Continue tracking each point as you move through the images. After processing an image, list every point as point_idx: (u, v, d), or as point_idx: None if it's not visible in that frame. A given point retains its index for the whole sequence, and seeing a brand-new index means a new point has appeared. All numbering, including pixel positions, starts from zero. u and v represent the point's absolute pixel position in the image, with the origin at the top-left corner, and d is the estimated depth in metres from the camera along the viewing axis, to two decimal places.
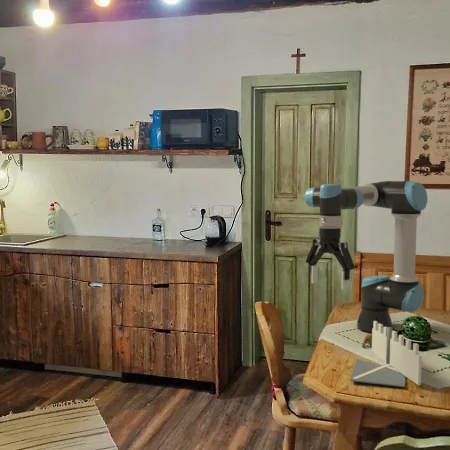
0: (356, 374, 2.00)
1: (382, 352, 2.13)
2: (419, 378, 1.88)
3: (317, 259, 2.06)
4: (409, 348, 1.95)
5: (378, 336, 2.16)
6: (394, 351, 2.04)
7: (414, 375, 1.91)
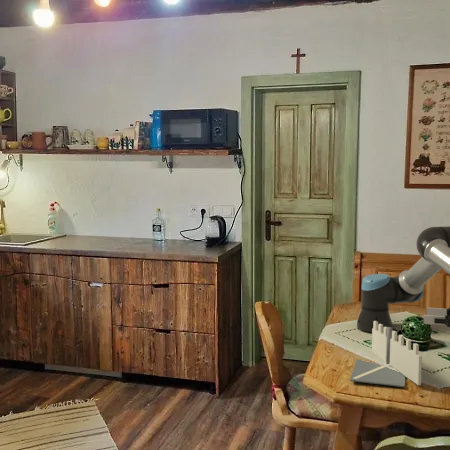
0: (356, 374, 2.00)
1: (382, 352, 2.13)
2: (419, 378, 1.88)
3: None
4: (409, 348, 1.95)
5: (378, 336, 2.16)
6: (394, 351, 2.04)
7: (414, 375, 1.91)
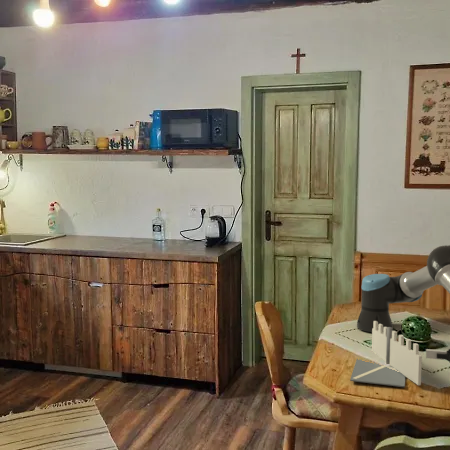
0: (356, 374, 2.00)
1: (382, 352, 2.13)
2: (419, 378, 1.88)
3: None
4: (409, 348, 1.95)
5: (378, 336, 2.16)
6: (394, 351, 2.04)
7: (414, 375, 1.91)
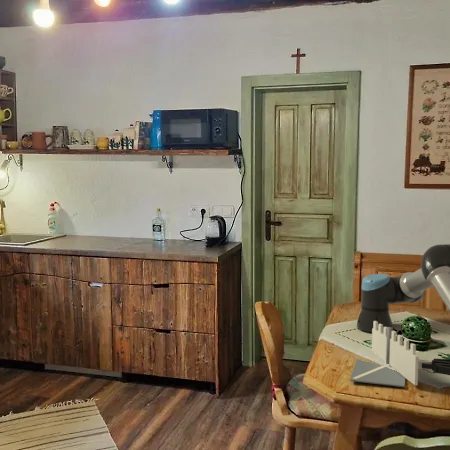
0: (356, 374, 2.00)
1: (382, 352, 2.13)
2: (416, 378, 1.88)
3: None
4: (407, 348, 1.94)
5: (378, 336, 2.16)
6: (393, 351, 2.04)
7: (411, 375, 1.91)
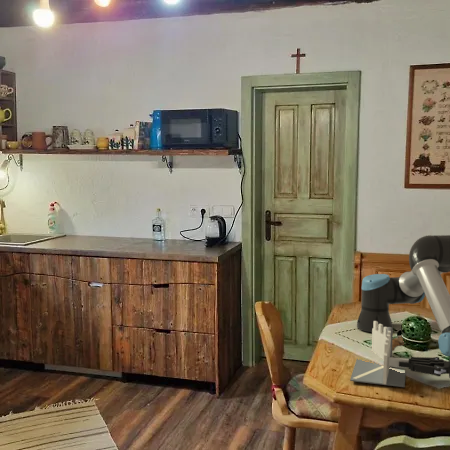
0: (356, 374, 2.00)
1: (382, 352, 2.13)
2: (384, 377, 1.89)
3: None
4: None
5: (378, 336, 2.16)
6: None
7: None
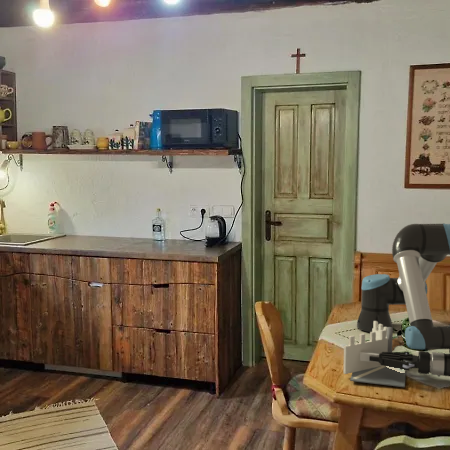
0: (356, 374, 2.00)
1: None
2: (344, 367, 1.99)
3: None
4: (360, 342, 2.02)
5: (378, 336, 2.16)
6: None
7: None
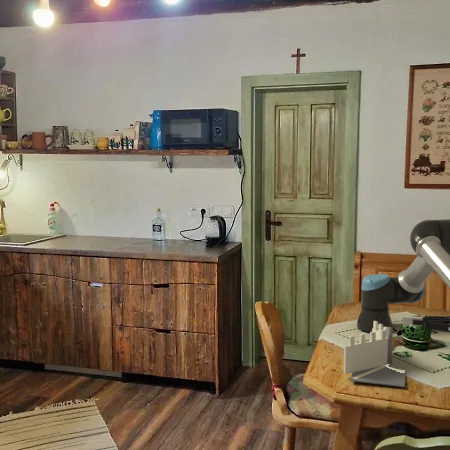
0: (356, 374, 2.00)
1: None
2: (344, 367, 1.99)
3: None
4: (360, 342, 2.02)
5: (378, 336, 2.16)
6: None
7: None
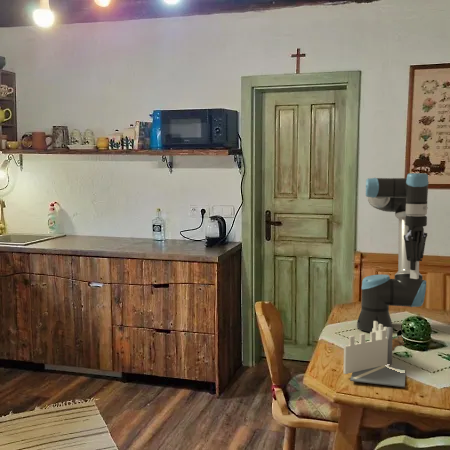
0: (356, 374, 2.00)
1: None
2: (344, 367, 1.99)
3: None
4: (360, 342, 2.02)
5: (378, 336, 2.16)
6: None
7: None
